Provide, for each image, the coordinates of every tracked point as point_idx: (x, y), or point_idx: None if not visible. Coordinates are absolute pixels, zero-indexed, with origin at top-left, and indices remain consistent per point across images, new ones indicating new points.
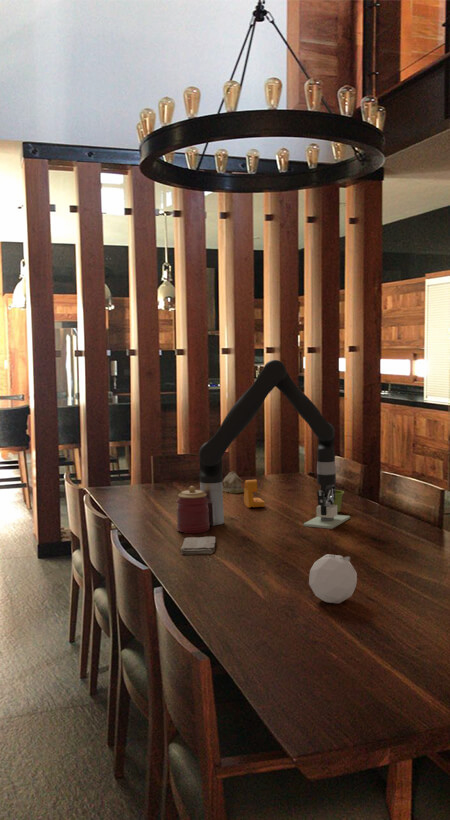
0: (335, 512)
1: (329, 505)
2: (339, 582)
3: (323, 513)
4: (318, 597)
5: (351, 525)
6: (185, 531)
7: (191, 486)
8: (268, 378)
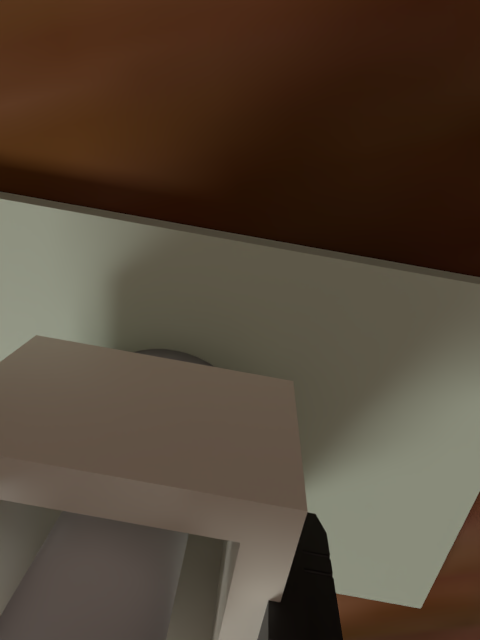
0: (99, 377)
1: (120, 588)
2: None
3: (316, 539)
4: None
5: (288, 30)
6: None
7: None
8: None
